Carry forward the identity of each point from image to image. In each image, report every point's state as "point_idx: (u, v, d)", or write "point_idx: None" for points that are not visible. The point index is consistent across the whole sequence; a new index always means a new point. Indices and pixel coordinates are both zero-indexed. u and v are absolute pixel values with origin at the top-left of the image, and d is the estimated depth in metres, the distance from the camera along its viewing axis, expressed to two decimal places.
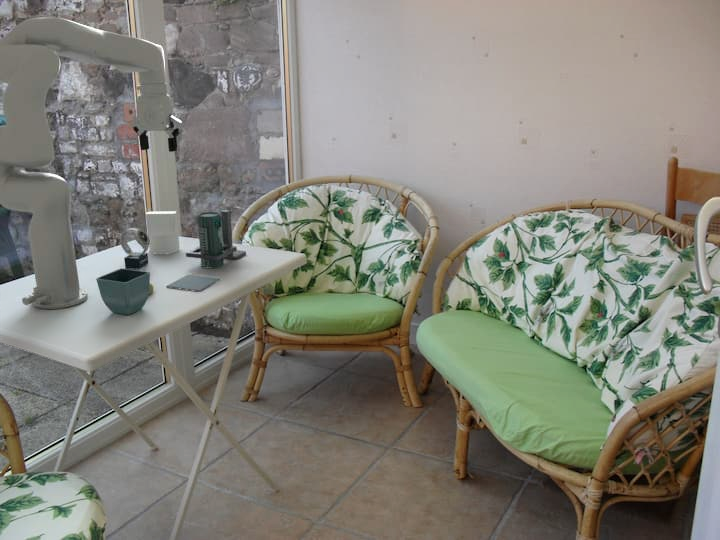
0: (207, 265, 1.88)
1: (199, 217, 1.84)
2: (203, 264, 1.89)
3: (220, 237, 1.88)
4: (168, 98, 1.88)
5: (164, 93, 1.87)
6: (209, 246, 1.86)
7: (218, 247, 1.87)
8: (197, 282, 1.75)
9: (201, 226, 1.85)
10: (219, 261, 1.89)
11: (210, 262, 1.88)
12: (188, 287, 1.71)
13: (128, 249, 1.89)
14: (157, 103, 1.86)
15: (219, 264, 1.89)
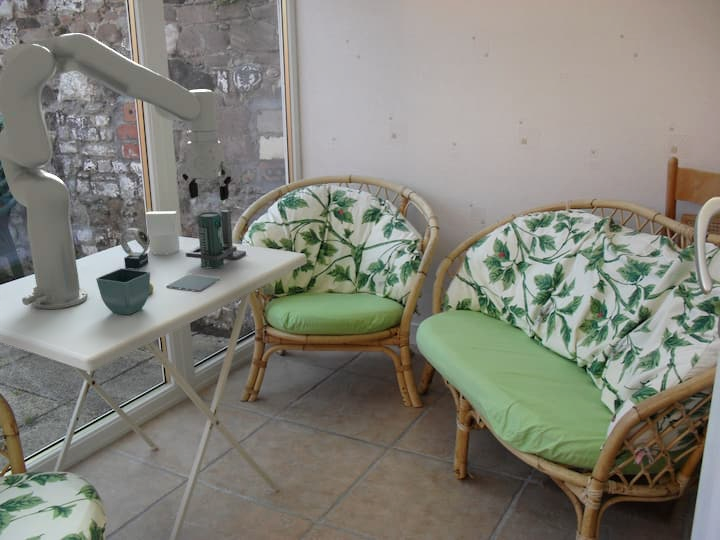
0: (207, 265, 1.88)
1: (199, 217, 1.84)
2: (203, 264, 1.89)
3: (220, 237, 1.88)
4: (219, 145, 1.79)
5: (215, 140, 1.79)
6: (209, 246, 1.86)
7: (218, 247, 1.87)
8: (197, 282, 1.75)
9: (201, 226, 1.85)
10: (219, 261, 1.89)
11: (210, 262, 1.88)
12: (188, 287, 1.71)
13: (128, 249, 1.89)
14: (209, 151, 1.78)
15: (219, 264, 1.89)
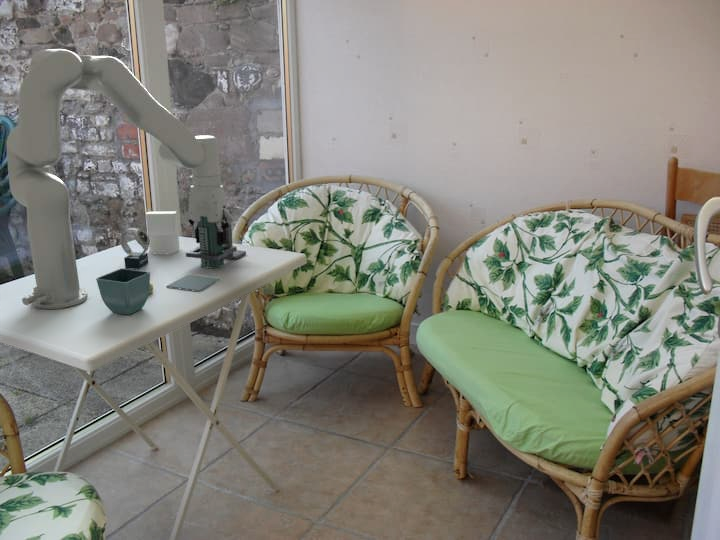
0: (207, 265, 1.88)
1: None
2: (203, 264, 1.89)
3: None
4: (221, 190, 1.83)
5: (218, 185, 1.82)
6: (209, 246, 1.86)
7: (218, 247, 1.87)
8: (197, 282, 1.75)
9: (201, 226, 1.85)
10: (219, 261, 1.89)
11: (210, 262, 1.88)
12: (188, 287, 1.71)
13: (128, 249, 1.89)
14: (211, 195, 1.81)
15: (219, 264, 1.89)
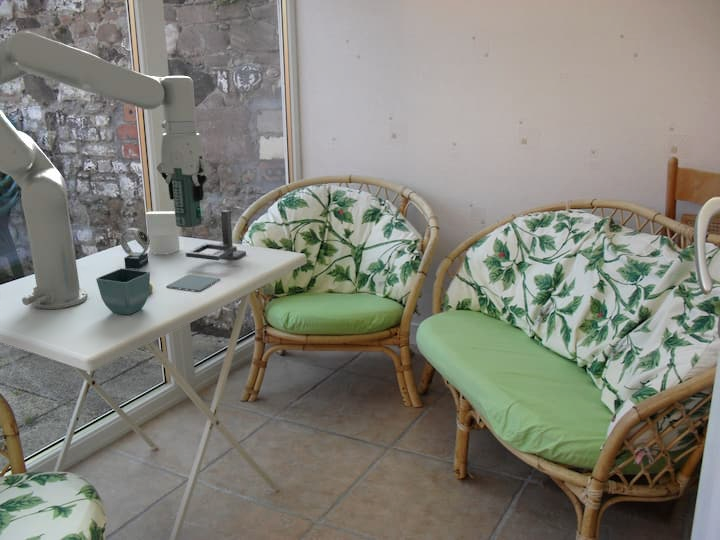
0: (182, 224, 1.67)
1: None
2: (178, 223, 1.68)
3: None
4: (198, 138, 1.62)
5: (194, 132, 1.62)
6: (184, 202, 1.65)
7: (194, 203, 1.67)
8: (197, 282, 1.75)
9: (174, 179, 1.64)
10: (196, 219, 1.68)
11: (185, 220, 1.67)
12: (188, 287, 1.71)
13: (128, 249, 1.89)
14: (186, 144, 1.61)
15: (196, 223, 1.68)
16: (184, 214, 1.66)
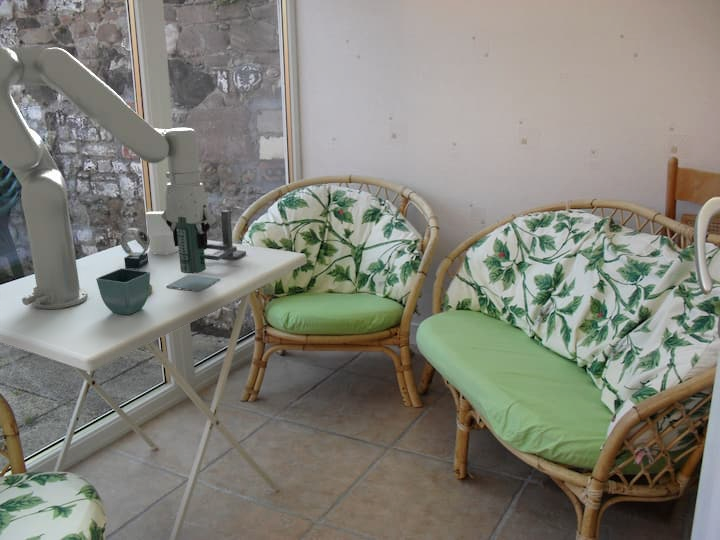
0: (187, 270, 1.71)
1: None
2: (182, 269, 1.72)
3: None
4: (201, 188, 1.66)
5: (197, 182, 1.66)
6: (188, 249, 1.69)
7: (198, 250, 1.71)
8: (197, 282, 1.75)
9: (179, 228, 1.68)
10: (200, 266, 1.72)
11: (190, 267, 1.71)
12: (188, 287, 1.71)
13: (128, 249, 1.89)
14: (190, 194, 1.64)
15: (200, 269, 1.72)
16: (188, 261, 1.70)
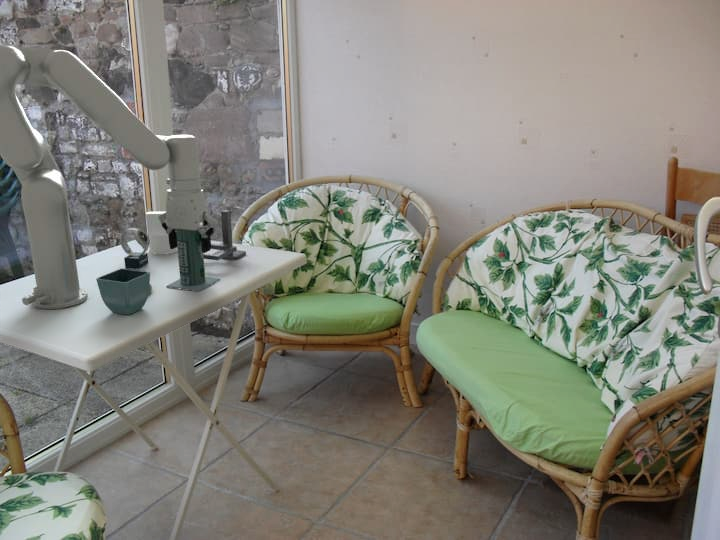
0: (187, 283, 1.72)
1: (178, 230, 1.69)
2: (182, 281, 1.73)
3: (201, 252, 1.72)
4: (202, 195, 1.67)
5: (198, 189, 1.66)
6: (188, 262, 1.70)
7: (198, 262, 1.72)
8: None
9: (179, 240, 1.69)
10: (200, 278, 1.73)
11: (190, 279, 1.72)
12: (188, 287, 1.71)
13: (128, 249, 1.89)
14: (190, 201, 1.65)
15: (200, 281, 1.73)
16: (188, 273, 1.71)
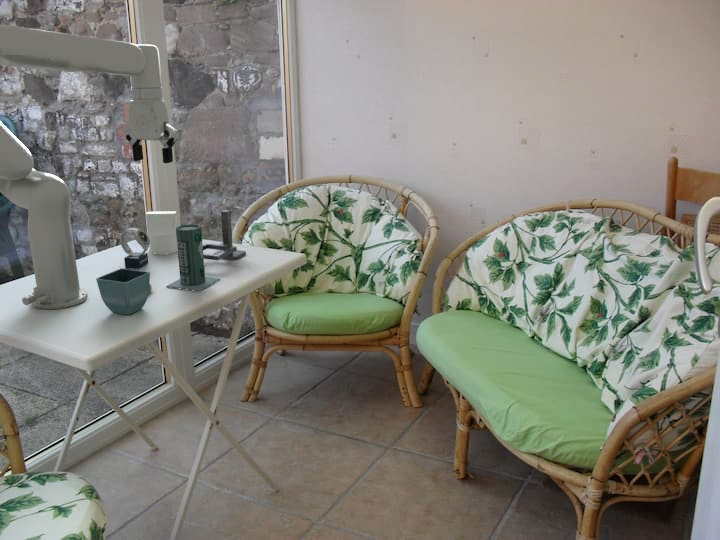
0: (187, 283, 1.72)
1: (177, 231, 1.69)
2: (182, 281, 1.73)
3: (201, 252, 1.72)
4: (162, 104, 1.69)
5: (158, 98, 1.69)
6: (188, 262, 1.70)
7: (198, 263, 1.72)
8: None
9: (179, 240, 1.69)
10: (200, 278, 1.73)
11: (190, 279, 1.72)
12: (188, 287, 1.71)
13: (128, 249, 1.89)
14: (150, 109, 1.68)
15: (200, 281, 1.73)
16: (188, 273, 1.71)
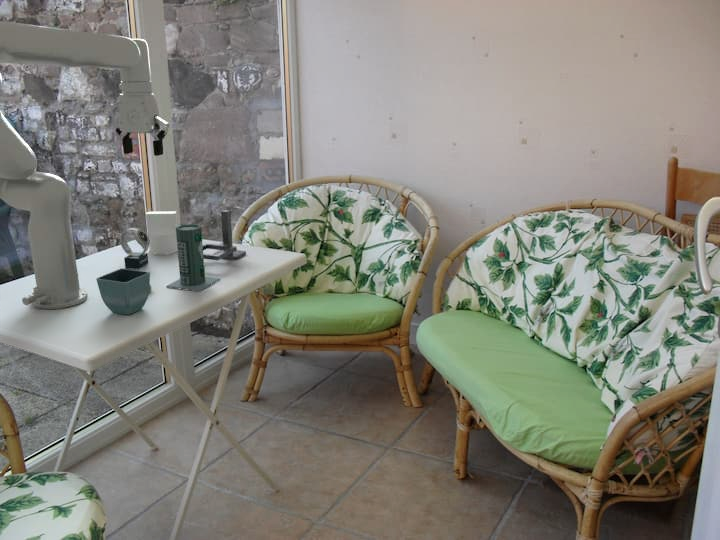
0: (187, 283, 1.72)
1: (177, 231, 1.69)
2: (182, 281, 1.73)
3: (201, 252, 1.72)
4: (152, 98, 1.72)
5: (148, 92, 1.72)
6: (188, 262, 1.70)
7: (198, 263, 1.72)
8: None
9: (179, 240, 1.69)
10: (200, 278, 1.73)
11: (190, 279, 1.72)
12: (188, 287, 1.71)
13: (128, 249, 1.89)
14: (141, 103, 1.71)
15: (200, 281, 1.73)
16: (188, 273, 1.71)
